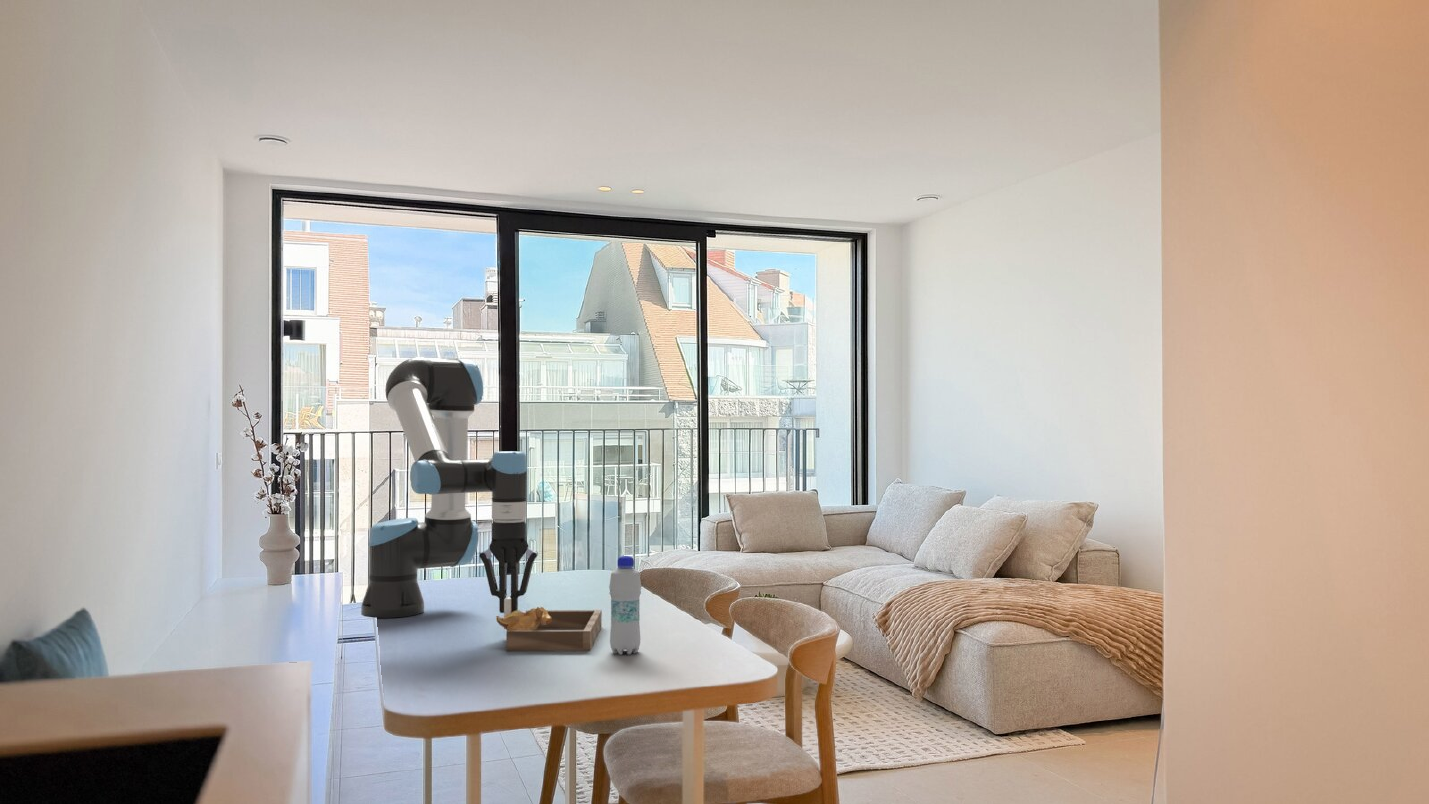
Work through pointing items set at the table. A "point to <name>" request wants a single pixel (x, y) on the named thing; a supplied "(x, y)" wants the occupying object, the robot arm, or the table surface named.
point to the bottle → (625, 607)
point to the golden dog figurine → (525, 619)
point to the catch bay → (559, 632)
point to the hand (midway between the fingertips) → (508, 627)
